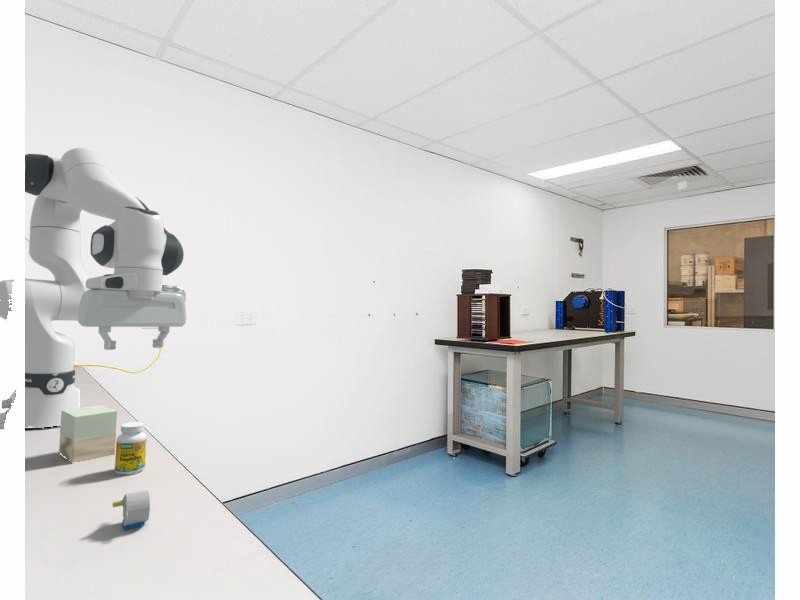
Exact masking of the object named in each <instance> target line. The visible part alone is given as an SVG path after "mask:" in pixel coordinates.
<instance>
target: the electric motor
mask: <svg viewBox="0 0 800 600" xmlns="http://www.w3.org/2000/svg"><path fill="white" fill-rule="evenodd" d="M150 497H151V496H150V492H149V490H148V489H147V490H142V491H137V492H136V491H135V492H129V493H125V494H124V497H122V500H115V501H112V508H117V507H122V527H123V530H124V531H126V530H130V529H134V528H140V527H143V526H142V525H144V526H145V525H146V524H145V523H146V522H147V521H149V518H150V513H151V511H150V510H151V499H150ZM139 526H140V527H139Z"/></svg>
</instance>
